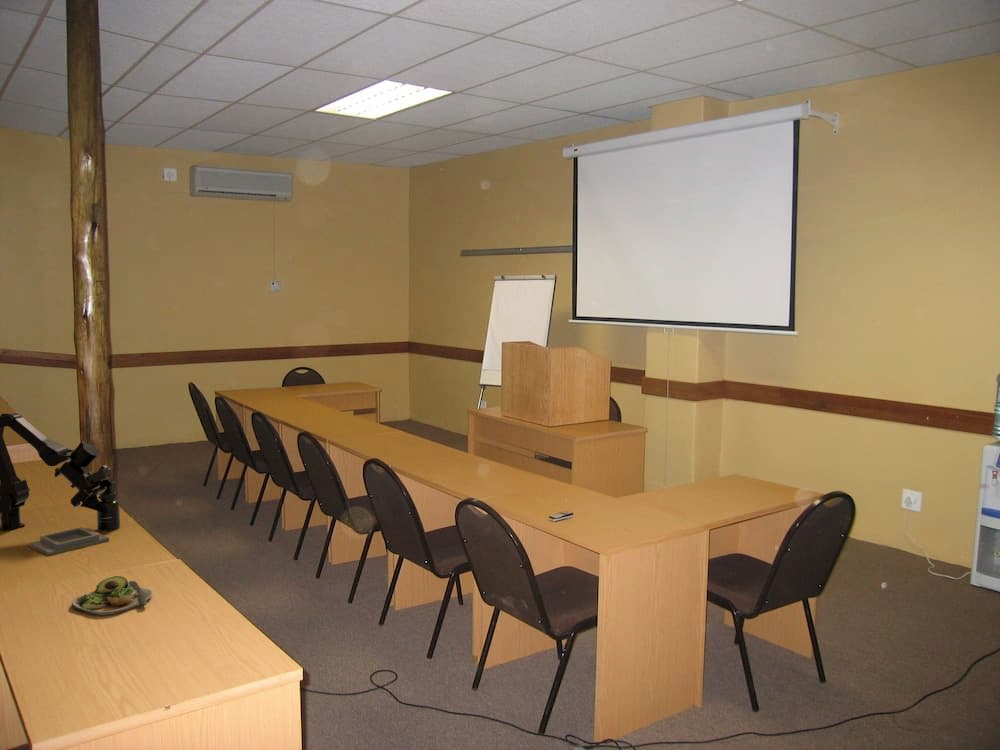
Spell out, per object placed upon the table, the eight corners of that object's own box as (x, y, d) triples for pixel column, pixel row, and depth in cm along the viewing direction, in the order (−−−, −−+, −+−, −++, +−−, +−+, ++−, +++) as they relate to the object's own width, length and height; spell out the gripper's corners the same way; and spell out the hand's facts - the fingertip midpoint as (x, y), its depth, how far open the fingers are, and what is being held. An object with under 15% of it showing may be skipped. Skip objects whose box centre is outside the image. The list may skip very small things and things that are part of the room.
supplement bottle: (103, 532, 255) (101, 497, 254) (93, 528, 259) (91, 493, 258) (124, 527, 261) (122, 493, 259) (114, 524, 265) (112, 489, 263)
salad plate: (173, 599, 202) (172, 582, 202) (109, 624, 187) (109, 606, 186) (126, 585, 212) (125, 568, 211) (62, 607, 196) (61, 590, 196)
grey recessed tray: (29, 546, 242) (29, 538, 242) (89, 532, 256) (88, 524, 256) (48, 555, 233) (48, 547, 233) (109, 540, 247) (109, 533, 247)
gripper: (77, 466, 248) (113, 500, 249) (108, 454, 267) (141, 485, 268) (55, 490, 249) (90, 523, 250) (87, 476, 268) (120, 507, 269)
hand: (112, 509), depth 259 cm, fingers closed on supplement bottle, 7 cm apart
